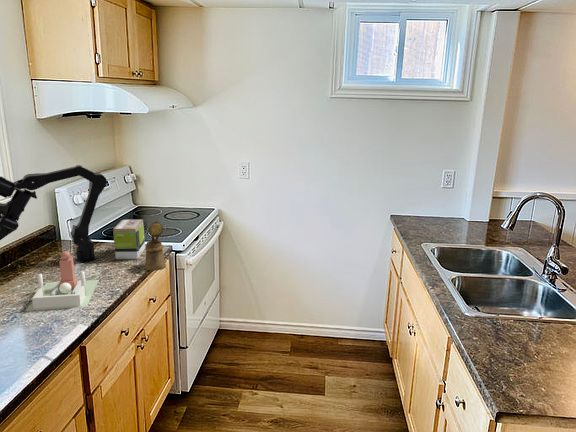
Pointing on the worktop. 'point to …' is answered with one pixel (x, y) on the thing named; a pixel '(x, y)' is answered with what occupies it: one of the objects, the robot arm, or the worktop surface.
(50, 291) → the pitch
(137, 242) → the tea box
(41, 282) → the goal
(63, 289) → the ball
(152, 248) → the brown pawn figure
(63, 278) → the striker
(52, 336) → the worktop surface
